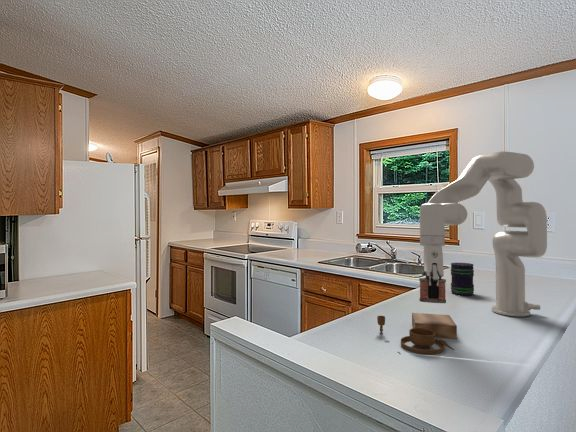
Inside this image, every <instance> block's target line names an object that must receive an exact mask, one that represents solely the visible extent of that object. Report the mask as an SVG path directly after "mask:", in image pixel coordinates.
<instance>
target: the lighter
mask: <svg viewBox="0 0 576 432" xmlns="http://www.w3.org/2000/svg"><path fill="white" fill-rule="evenodd" d="M430 273H431V272H430ZM438 273H439V272H438ZM421 276H425V277H419V278H418V279H419V299H418V300H419V302H422V303H433V304H447V299H446V283H447V279H446V278H442V277H441V276H440V275H439V274H438V283H439V299H431V298H428V286H429V278H428V276H427V275H426V272H425V271H424V270H422V271H421ZM430 276H433V275H430ZM431 279H433V278H431Z"/></svg>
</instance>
